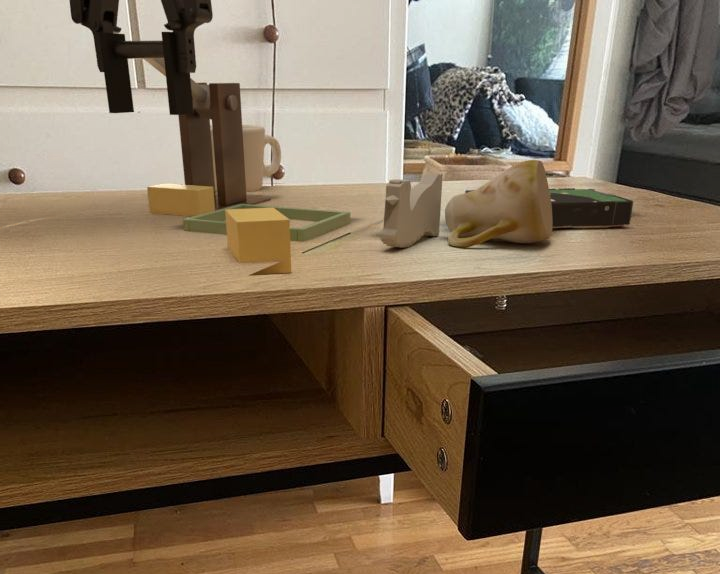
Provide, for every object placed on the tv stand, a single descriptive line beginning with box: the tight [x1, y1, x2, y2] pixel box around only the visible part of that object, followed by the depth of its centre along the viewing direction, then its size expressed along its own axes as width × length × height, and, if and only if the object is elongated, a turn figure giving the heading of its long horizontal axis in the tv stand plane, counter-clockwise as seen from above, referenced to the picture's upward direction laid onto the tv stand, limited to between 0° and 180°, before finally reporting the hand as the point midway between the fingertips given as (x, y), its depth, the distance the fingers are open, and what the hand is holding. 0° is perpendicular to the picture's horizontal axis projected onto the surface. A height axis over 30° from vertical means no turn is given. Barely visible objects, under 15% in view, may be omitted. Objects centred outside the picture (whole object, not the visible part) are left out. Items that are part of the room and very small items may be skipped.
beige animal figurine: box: [379, 172, 443, 249], centre depth 69 cm, size 6×1×10 cm
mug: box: [444, 159, 554, 248], centre depth 70 cm, size 8×10×10 cm
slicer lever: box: [112, 40, 212, 120], centre depth 74 cm, size 13×6×2 cm, turn 157°
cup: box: [210, 124, 282, 193], centre depth 95 cm, size 11×8×8 cm
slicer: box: [177, 81, 272, 211], centre depth 81 cm, size 10×8×13 cm
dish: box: [182, 204, 351, 254], centre depth 72 cm, size 12×10×2 cm
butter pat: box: [225, 208, 292, 276], centre depth 61 cm, size 6×4×4 cm, turn 17°
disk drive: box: [464, 187, 634, 229], centre depth 80 cm, size 10×3×15 cm
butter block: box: [146, 183, 215, 217], centre depth 78 cm, size 6×3×4 cm, turn 67°
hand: (151, 112), depth 71 cm, fingers closed on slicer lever, 6 cm apart
